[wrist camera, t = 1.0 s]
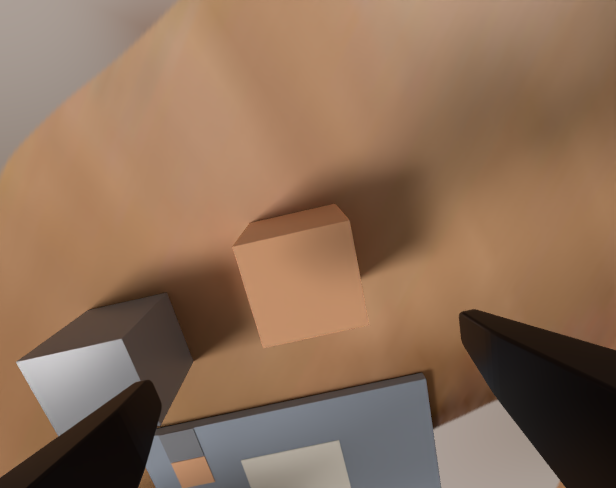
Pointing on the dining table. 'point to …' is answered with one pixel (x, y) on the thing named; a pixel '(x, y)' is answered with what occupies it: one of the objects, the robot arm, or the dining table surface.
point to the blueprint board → (307, 443)
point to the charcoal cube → (108, 359)
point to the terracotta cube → (301, 275)
